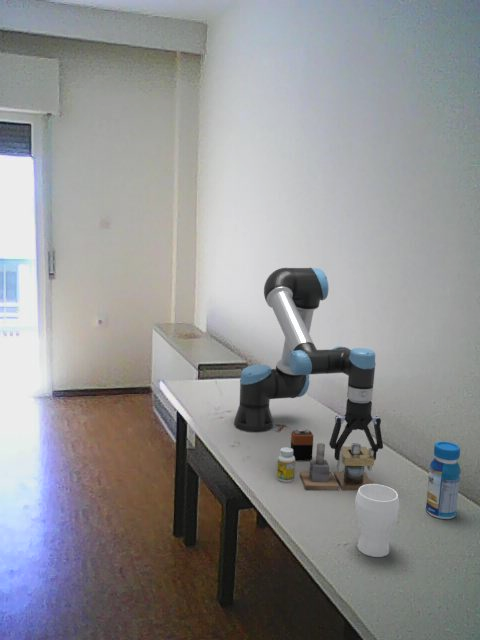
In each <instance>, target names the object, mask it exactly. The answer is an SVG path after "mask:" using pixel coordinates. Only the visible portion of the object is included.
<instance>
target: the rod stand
mask: <svg viewBox="0 0 480 640" xmlns="http://www.w3.org/2000/svg"><path fill="white" fill-rule="evenodd" d="M325 447H326V444H324V443H323V442H318V443H317V444H316V455H315V457H316V458H315V459H312V460H309V471H299V479H300V480H301V482H302V485H303V488H304V490H305V491H339V488H340V487H339V485H338V483H337V481H336V479H335V477H334V473H332V471H330V464H329V463H328V461H327V460H326V459H325V451H326V450H325Z"/></svg>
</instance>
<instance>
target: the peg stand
mask: <svg viewBox="0 0 480 640" xmlns="http://www.w3.org/2000/svg"><path fill="white" fill-rule="evenodd" d="M350 447H351V455H360V449H361V447H362V444H360V443H358V442H354V443H351V446H350ZM343 470H344V471H333V476H334V478H335V480H336V482H337V484H338V485H339V487H338V488H340V490H341V491H358V489H359V488H360V487H361V486H363V485H366V484H374V483H373V481H372V480H371V479H370V477H369V476H368V474H367V473H366V471H365V466H344V469H343Z"/></svg>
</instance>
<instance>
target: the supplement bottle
mask: <svg viewBox="0 0 480 640" xmlns="http://www.w3.org/2000/svg"><path fill="white" fill-rule="evenodd" d="M279 453H280V454H279V455H278V457H277V468H276V469H277V471H276V473H277V474H276V475H277V476H276V479H277V480H278V481H280V482H284V483H289V482H293V481H294V480H295V472H296V471H295V470H296V468H295V467H296V461H295V457H294V456H293V449H292V448H291V447H286V446H285V447H281V448H280V452H279Z"/></svg>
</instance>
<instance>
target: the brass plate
mask: <svg viewBox="0 0 480 640" xmlns="http://www.w3.org/2000/svg"><path fill="white" fill-rule="evenodd" d="M341 450H342V451H343V454H342V465H343V466H344V467H345V466H364V467H367V466H372V467H374V466H375V460H374V457H373V456H372V454H371V453H370V452H369V451H368V450H369V448H367V446H361V449H360V455H351V446H344V445H343V446H342V448H341Z"/></svg>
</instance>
